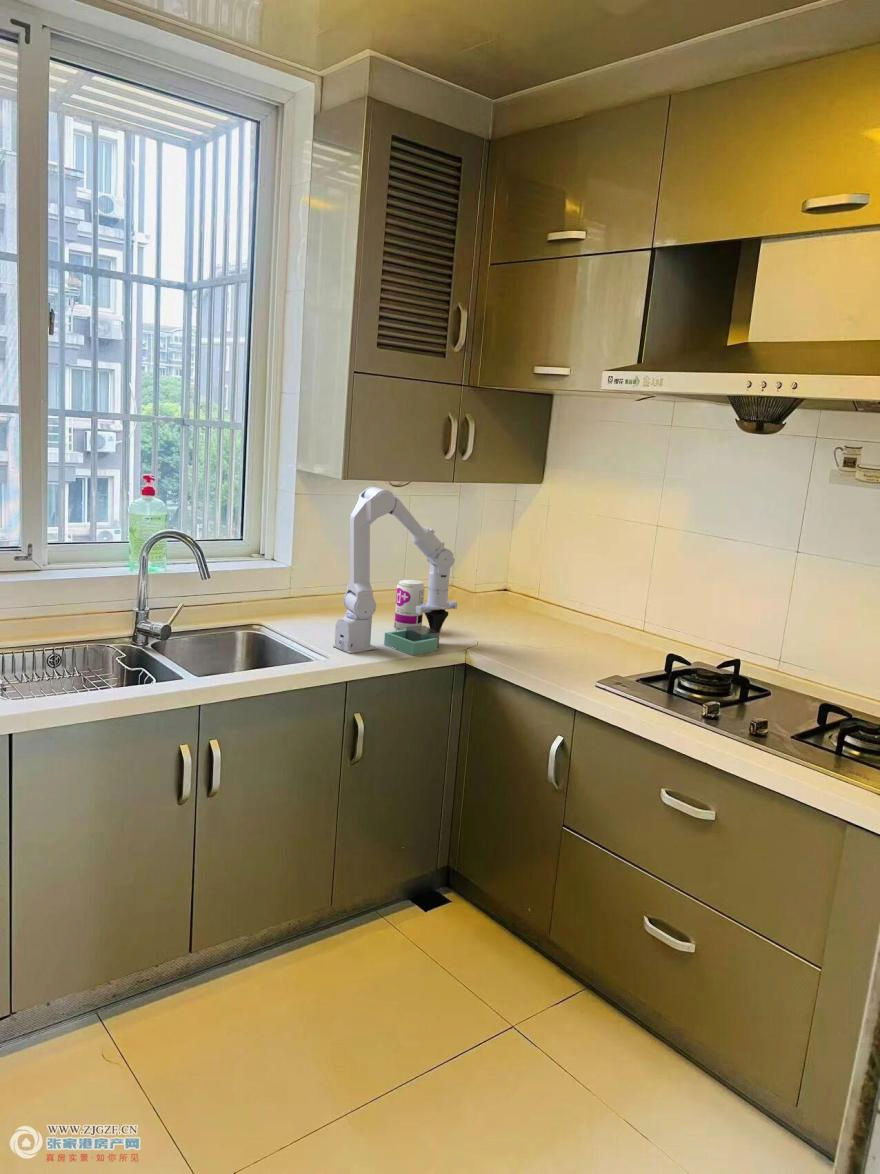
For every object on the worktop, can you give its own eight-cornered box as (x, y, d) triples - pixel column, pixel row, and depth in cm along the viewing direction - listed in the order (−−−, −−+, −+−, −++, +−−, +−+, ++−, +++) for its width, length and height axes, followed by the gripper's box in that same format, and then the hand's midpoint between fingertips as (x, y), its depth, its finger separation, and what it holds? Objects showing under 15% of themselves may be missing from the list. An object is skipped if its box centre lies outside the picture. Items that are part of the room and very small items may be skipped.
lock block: (420, 650, 244) (421, 634, 243) (405, 642, 250) (406, 627, 249) (438, 648, 247) (439, 632, 246) (423, 640, 254) (424, 625, 253)
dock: (412, 655, 238) (413, 643, 237) (384, 644, 246) (384, 632, 245) (436, 651, 244) (437, 638, 243) (408, 640, 252) (408, 628, 252)
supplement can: (405, 635, 258) (408, 585, 255) (388, 628, 264) (391, 579, 261) (426, 632, 263) (430, 583, 260) (410, 625, 269) (413, 577, 266)
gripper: (429, 594, 240) (425, 642, 243) (466, 589, 250) (462, 635, 253) (411, 589, 245) (408, 636, 248) (449, 584, 255) (445, 629, 258)
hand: (434, 635), depth 251 cm, fingers closed
